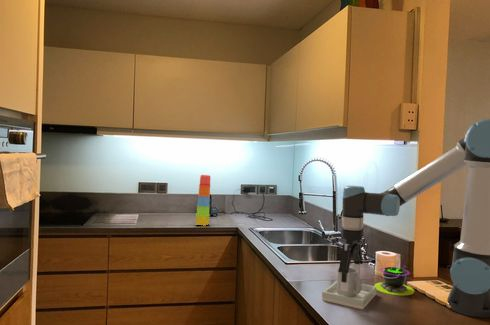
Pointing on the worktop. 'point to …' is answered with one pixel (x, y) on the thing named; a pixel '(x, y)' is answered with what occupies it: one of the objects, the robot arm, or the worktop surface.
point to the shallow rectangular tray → (356, 302)
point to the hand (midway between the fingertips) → (350, 285)
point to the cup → (350, 283)
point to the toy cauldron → (394, 282)
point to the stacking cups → (203, 201)
